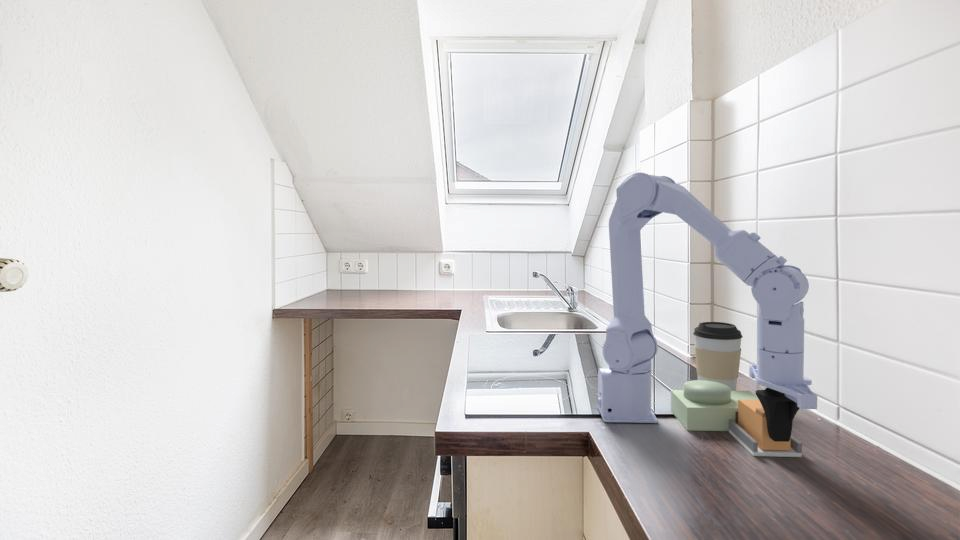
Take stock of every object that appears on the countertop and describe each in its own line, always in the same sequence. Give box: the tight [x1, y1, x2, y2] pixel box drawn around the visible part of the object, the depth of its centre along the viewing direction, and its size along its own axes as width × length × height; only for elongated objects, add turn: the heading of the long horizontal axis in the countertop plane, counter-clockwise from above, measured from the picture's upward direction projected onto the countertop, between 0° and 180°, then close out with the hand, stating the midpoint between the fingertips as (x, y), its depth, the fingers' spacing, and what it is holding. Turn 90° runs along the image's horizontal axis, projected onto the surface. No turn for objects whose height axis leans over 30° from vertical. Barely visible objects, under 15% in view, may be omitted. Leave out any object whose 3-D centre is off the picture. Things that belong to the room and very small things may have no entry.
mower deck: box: [670, 379, 803, 458], centre depth 78 cm, size 14×18×6 cm
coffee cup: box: [692, 321, 743, 391], centre depth 95 cm, size 9×9×15 cm
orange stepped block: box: [738, 400, 790, 450], centre depth 73 cm, size 4×8×6 cm, turn 174°
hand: (779, 439), depth 68 cm, fingers closed
